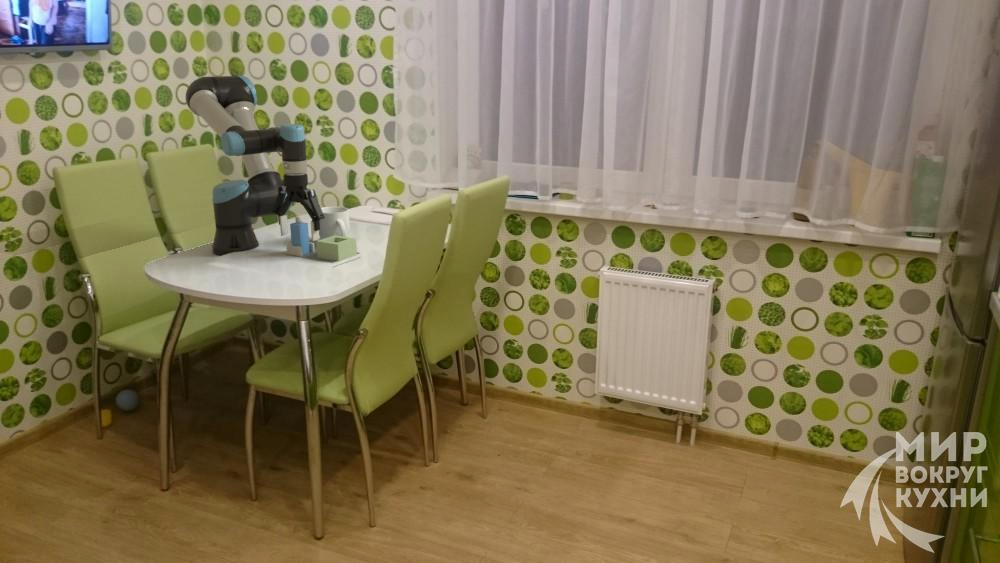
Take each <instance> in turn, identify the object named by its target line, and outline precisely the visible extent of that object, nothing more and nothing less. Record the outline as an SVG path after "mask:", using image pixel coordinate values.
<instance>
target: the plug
mask: <svg viewBox="0 0 1000 563" xmlns="http://www.w3.org/2000/svg"><path fill="white" fill-rule="evenodd" d="M289 228H290V229H289V230H290V240H291V245H294V246H299V247H302V254H306V253H309V252H310V248H309V242H310V236H309V234H310V233H309V223H308V222H303V218H302V216H296V217H295V222H292V223H289Z"/></svg>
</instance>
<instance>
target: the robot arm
mask: <svg viewBox="0 0 1000 563" xmlns="http://www.w3.org/2000/svg"><path fill="white" fill-rule="evenodd" d="M185 101H186V105H187V107H188V108H189V109H190V111H191V113H193V114H194V115H195V116H198V117H201V118H202V119H203V120H204V122H205V123H206V124H207V125H208V126H209V127H210V128H211V129H212V130H213V132H215V133H216V135H218V136H219V138H220V145H221V149H222V151H223V153H224V155H226V156H228V157H234V156H235V157H240V156H241V158H242V161H243V164H244V166H245V169H246V172H247V175H248V178H247V180H246V179H236V180H235V179H232V180H227V181H224V182H223V181H222V182H220V183H218V184H216V185H215V186H214V187H213V189H212V199H211V200H212V204H213V213H214V215H213V216H214V223H215V234H214V238H213V244H212V245H211V246H212V253H213V254H215V255H217V256H225V255H229V254H232V253H240V252H246V251H250V250H254V249H256V248H258V247H259V245H260V243H259V240H258V238H257V236H256V234H255V231H254V228H253V224H252V219H253V218H261V217H268V216H269V217H270V216H277V218H278V225H279V229H280V237H281V236H282V237H284V236H287V235H289V225H288V215H287V212H289V211H290V209H291V207H292V204H293V203H299V204H300V205H302V206H303V208H304V209H305V211H306V212H307V214H308V215H309V217H310V219H311V220H310V232H311V233H310V234H311V241H312V242H315V241H318V240H320V236H319V230H320V220H321V219H324V214H323V212H322V210H321V208H322V207H321V206H320V205H321V204H320V203H319V200H318V199H317V195H316V190H315V189H310V190H308V188H307V186H308V184H309V181H308V180H309V179H308V178H309V177H308V173H307V172H308V166H307V164H308V163H307V152H306V151H307V148H306V147H307V146H306V134H305V127H304V126H303V125H302V124H297V123H288V124H282V125H280V127H279V126H277V127H276V126H275V127H274V126H273V127H268V128H265V129H263V128H262V129H259V127H258V124H257V121H256V119H255V116H254V112H255V109H256V105H257V103H258V96H257V90H256V87H255V85H254V84H253V82H252V80H251V79H250V78H249V77H247V76H245V75H236V74H233V75H226V76H225V75H223V76H222V75H219V76H217V75H216V76H201V77H198V78H196V79H195V80H193V81H192V82H191V83H189V86H188V87H187V89H186V91H185ZM268 153H269V154H270V153H281V160H282V172H283V179H282V176H281V174H280V172H279V171H277V170H275V169H274V168H273V165H272V163H271V159H270V158H269V157H270V156H269V154H268Z"/></svg>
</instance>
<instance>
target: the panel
mask: <svg viewBox="0 0 1000 563" xmlns="http://www.w3.org/2000/svg"><path fill="white" fill-rule="evenodd" d="M309 248H310V252H309V253H306V254H302V247H299V246H294V245H292V244H286V254H285V255H286V256H292V257H298V258H303V259H307V260H313V261H319V262H324V263H328V264H329V263H330V264H334V263H338V261H334V260H329V259H323V258H318V257H317V244H315V242H310V241H309ZM360 254H361V252H358V251H357V255H360ZM360 258H361V256H359V257H357V258H354V259H351V260H348V261H345V262H343V263H339V264H336V265H334V266H333V268H335V267H338V266H341V265H343V264H347V263H348V262H351V261H354V260H358V259H360Z"/></svg>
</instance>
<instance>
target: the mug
mask: <svg viewBox="0 0 1000 563" xmlns="http://www.w3.org/2000/svg"><path fill="white" fill-rule="evenodd" d="M321 210H322V212H323V214H324V219H321V220H320V230H319V240H321V239H325V238H328V237H331V236H334V235H337V236H343V237H349V236H350V235H349V234H350V227H351V226H350V212H349V210H350V209H349V208H347V207H343V206H325V207H324V206H323V207H321Z"/></svg>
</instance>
